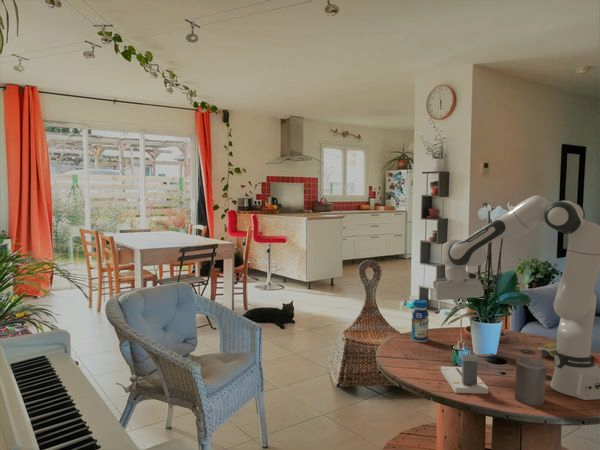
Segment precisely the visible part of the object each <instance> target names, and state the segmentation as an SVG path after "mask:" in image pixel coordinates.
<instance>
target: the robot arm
mask: <svg viewBox="0 0 600 450" xmlns="http://www.w3.org/2000/svg"><path fill="white" fill-rule="evenodd" d="M585 214H586V213H585V210H584V208H583V207H582V205H580V204H579V203H577V202H575V201H570V200H559V201H554V202H553V203H551V202H549V201H548V199H546V198H545V197H543V196H542V195H539V194H538V195H532V196H530V197H528V198H525V199H524V200H522V201H521V202H519V203H518V204H516V205H515V206H514V207H512V208H511V209H509V210H508V211H506V212H505V213H504V214H503V215H501V216H500V217H498V218H496V219H494V220H493V221H492V222H490V223H488V224H487V225H485V226H483V227H482V228H479V229H478V230H476V231H475V232H474V233H472V234H470V235H469V236H468V237H466V238H464V239H460V240H459V239H450V240H448V241H446V242H445V243H444V244H443V245H442V259H443V260H442V261H443V263H444V266H445V267H444V268H445V269H444V273H445V277H443V278H436V279H434V280H433V282H432V285H433V288H434V296H435V297H434V298H435V299H436V300H437V301H441V300H442V301H443V300H453V303H454V304H455V305H456V309H457V310H465V309H466V303H467V301H468V300H467V299H470V298H471V299H472V298H481V297H483V296H484V294H485V291H484V287H483V284H482V282H481V280H480V279H479V277H480V276H479V274H478V273H475V272H471V271H470V272H469V271H467V267H479V266H481V265H483V264H484V263H485V261H486V256H487V255H486V254H487V253H486V250H485V249H484V248H483V247H484V246H487V245H488V244H490V243H491V242H493V241H496V240H500V239H501V240H502V239H503V240H504V239H515V238H519V237H521V236H524V235H526V234H527V233H530V231H532V230H533V229H534V228H536V227H538V226H539V225H541V224H544V223H545V224H546V225H547V226H548V227H549V228H551V229H553V230H555V231H557V232H559V233H562V234H564V235H567V236H568V244H567V248H566V255H565V259H564V260H565V262H564V266H563V270H562V271H563V272H562V275H561V276H560V277H561V278H560V280H559V283H558V287H557V290H556V293H555V294H556V295H555V298H554V301H553V310H554V312H555V314H556V315H557V316H558V317H559V318H560V320H559V323H558V327H557V331H556V333H557V334H556V335H557V336H556V344H557V349H556V350H555V357H554V372H553V375H552V378H551V382H550V384H549V385H550V387H551V389H553V390H554V391H556V392H557V393H558V392H559V393H561V394H564V395H567V396H571V397H574V398H577V399H580V400H584V401H591V400H593V401H594V400H600V367H599V366H597V365H596V364H600V358H599V357H598V356H594V355H592V353H591V350H592V333H593V328H594V323H595V316H596V309H597V299H598V298H597V294H596V293H595V291H594V289H595V287H596V286H595V285H596V282H597V279H598V277H599V272H600V225H599V224H598V223H596V222H593V221H587V220H586V219H585V216H586V215H585ZM459 299H461V301H462V304H460V302H458V301H459Z"/></svg>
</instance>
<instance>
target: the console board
mask: <svg viewBox="0 0 600 450" xmlns="http://www.w3.org/2000/svg"><path fill="white" fill-rule="evenodd" d="M440 372H441V374H442V376H443V377H444V378H445V380H446V381H447V383H448V384H449V386H450V387H451V388H452V390H453V391H454V393H456V394H484V395H485V394H489V387H488V386H487V384H485V383H484V381H483V380H482V379H481V378H480V377H479V375H477V385H471V384H463V383H462V366H440Z"/></svg>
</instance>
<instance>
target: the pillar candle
mask: <svg viewBox="0 0 600 450" xmlns="http://www.w3.org/2000/svg"><path fill="white" fill-rule="evenodd" d="M515 362H516V365H515V383H514V384H515V385H514V399H515V400H516V401H517V402H519V403H520V404H523V405H527V406H534V407H535V406H536V407H537V406H543V404H544V403H545V392H546V377H547V376H546V374H547V365H546V363H545V362H543V361H540V360H538V359H534V358H529V357H527V358H526V357H525V358H524V357H523V358H518V359H517V360H516V361H515Z"/></svg>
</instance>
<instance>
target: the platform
mask: <svg viewBox="0 0 600 450" xmlns="http://www.w3.org/2000/svg"><path fill="white" fill-rule="evenodd" d="M543 345H544V346H539V347H538V350H541V352H540V353H541V355H540V357H541V358H542V359H543V358H549V357H550V358H551V357H553V358H555V350H556V349H557V342H550V343H544V344H543Z"/></svg>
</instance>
